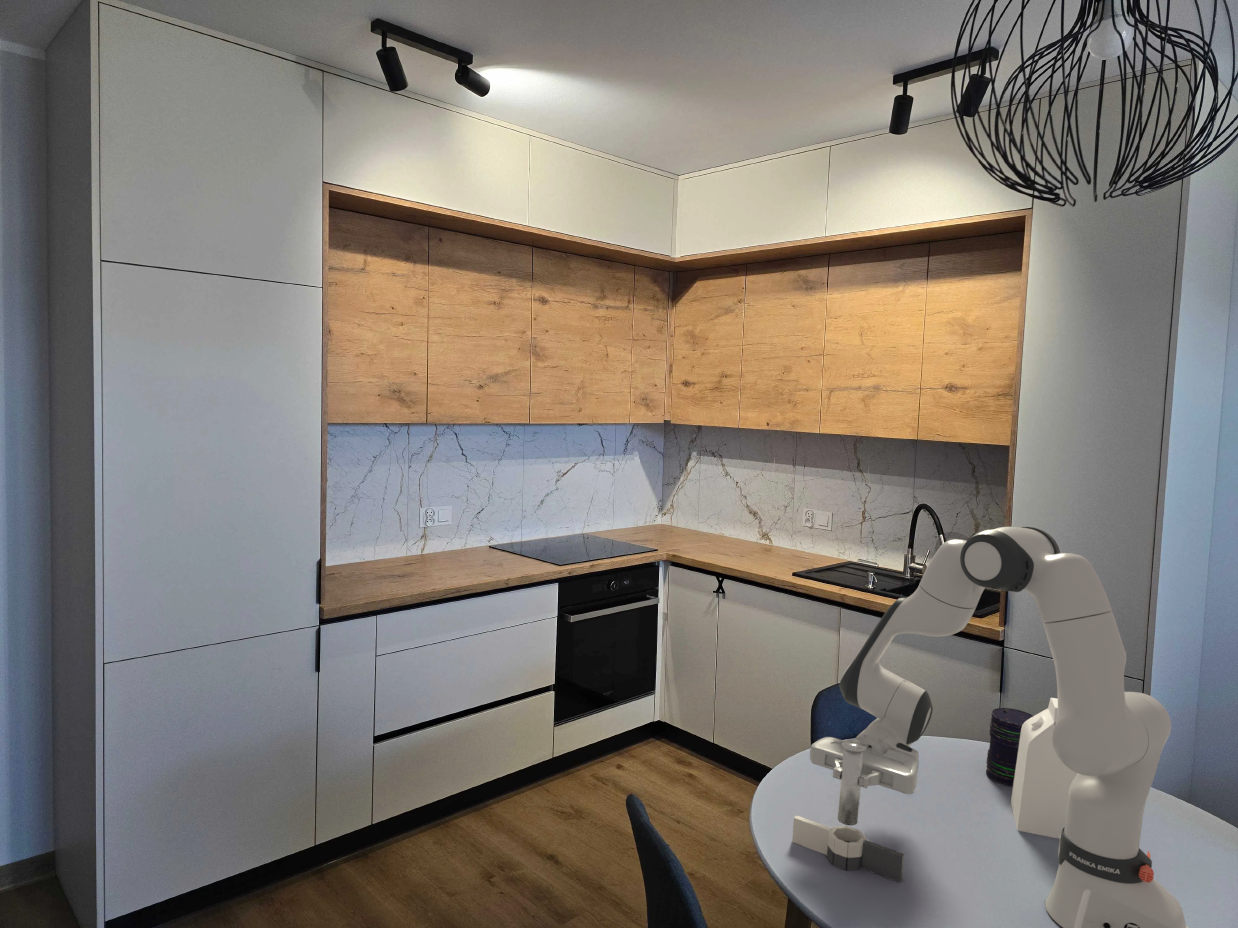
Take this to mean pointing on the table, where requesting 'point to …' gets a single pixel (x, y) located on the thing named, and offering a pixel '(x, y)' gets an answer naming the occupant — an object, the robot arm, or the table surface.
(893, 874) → the hinge leaf
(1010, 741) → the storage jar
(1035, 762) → the milk
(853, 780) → the hinge pin
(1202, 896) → the table surface
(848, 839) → the hinge leaf
